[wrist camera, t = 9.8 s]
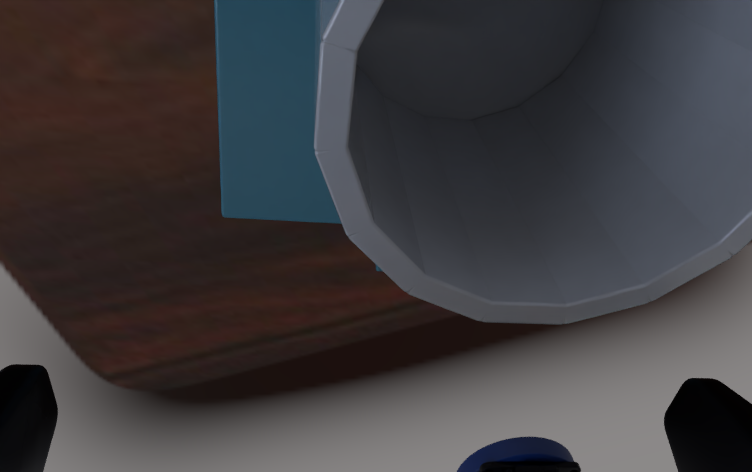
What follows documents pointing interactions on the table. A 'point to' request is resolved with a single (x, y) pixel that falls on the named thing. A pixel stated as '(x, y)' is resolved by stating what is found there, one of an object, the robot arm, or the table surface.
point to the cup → (537, 147)
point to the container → (268, 112)
